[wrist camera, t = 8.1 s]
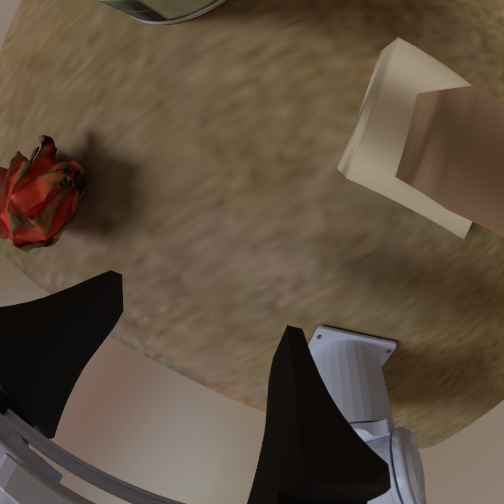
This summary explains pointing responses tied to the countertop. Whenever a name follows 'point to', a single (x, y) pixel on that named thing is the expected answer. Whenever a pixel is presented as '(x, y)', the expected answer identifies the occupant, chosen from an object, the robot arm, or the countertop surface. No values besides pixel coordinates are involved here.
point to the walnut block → (458, 153)
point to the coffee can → (164, 9)
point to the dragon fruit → (38, 197)
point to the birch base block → (397, 128)
